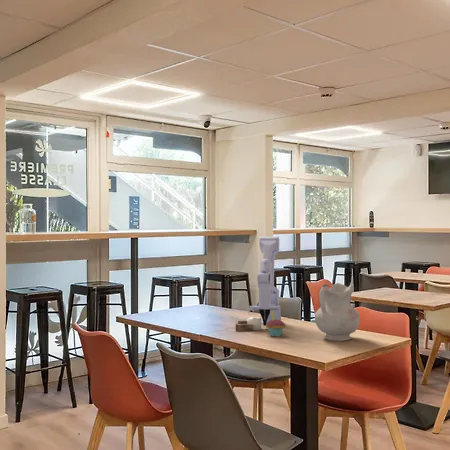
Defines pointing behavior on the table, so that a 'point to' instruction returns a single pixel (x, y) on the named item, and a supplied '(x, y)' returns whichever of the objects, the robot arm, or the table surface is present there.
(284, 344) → the table surface
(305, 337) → the table surface
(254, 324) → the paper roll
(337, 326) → the ceramic pitcher
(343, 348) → the table surface
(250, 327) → the holder
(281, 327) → the cupcake
